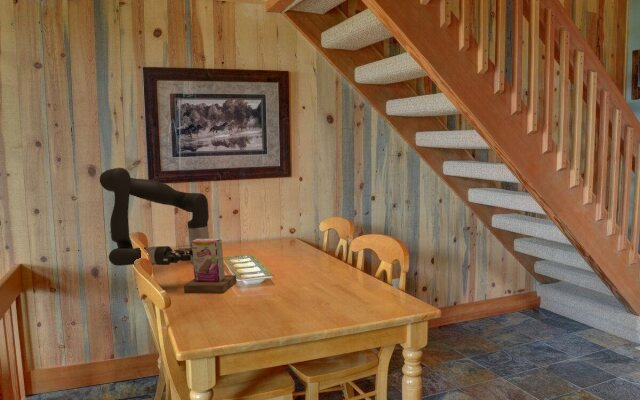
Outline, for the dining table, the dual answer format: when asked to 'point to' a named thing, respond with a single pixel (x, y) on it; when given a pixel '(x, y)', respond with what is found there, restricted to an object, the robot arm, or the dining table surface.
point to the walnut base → (210, 285)
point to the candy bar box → (208, 260)
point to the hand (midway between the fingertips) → (195, 255)
